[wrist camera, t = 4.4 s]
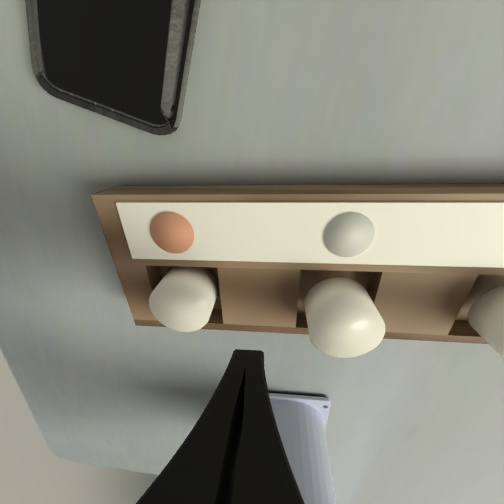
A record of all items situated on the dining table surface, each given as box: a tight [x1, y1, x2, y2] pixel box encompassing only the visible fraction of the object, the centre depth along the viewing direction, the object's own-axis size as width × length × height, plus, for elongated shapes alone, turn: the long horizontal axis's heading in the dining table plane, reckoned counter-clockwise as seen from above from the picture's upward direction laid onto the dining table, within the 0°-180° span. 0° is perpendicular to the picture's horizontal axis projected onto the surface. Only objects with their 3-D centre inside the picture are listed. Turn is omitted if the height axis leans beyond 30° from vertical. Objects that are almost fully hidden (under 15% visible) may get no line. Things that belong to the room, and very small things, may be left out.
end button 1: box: [149, 266, 219, 332], centre depth 16 cm, size 4×4×2 cm
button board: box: [91, 183, 504, 344], centre depth 15 cm, size 10×29×2 cm, turn 91°
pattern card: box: [116, 202, 504, 268], centre depth 13 cm, size 4×26×1 cm, turn 92°
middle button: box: [304, 277, 385, 358], centre depth 14 cm, size 4×4×2 cm
